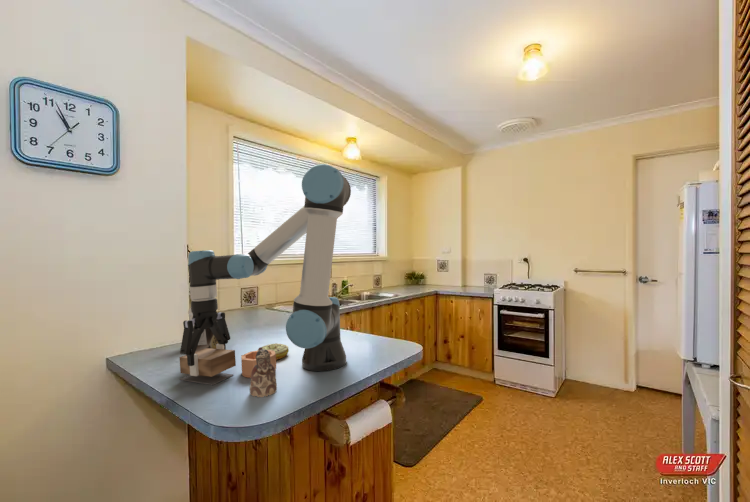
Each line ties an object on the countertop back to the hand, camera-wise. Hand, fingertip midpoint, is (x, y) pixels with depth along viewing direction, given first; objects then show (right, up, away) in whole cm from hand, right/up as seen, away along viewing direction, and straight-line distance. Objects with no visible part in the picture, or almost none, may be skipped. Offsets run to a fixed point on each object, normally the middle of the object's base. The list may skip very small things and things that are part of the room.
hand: (208, 369), depth 105 cm
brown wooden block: (0, 0, 0) cm, 0 cm away
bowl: (+15, -2, +4) cm, 15 cm away
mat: (-1, -3, 0) cm, 3 cm away
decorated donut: (+14, -2, +19) cm, 24 cm away
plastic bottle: (-24, -3, +38) cm, 45 cm away
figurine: (+22, -2, -12) cm, 25 cm away
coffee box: (-7, -3, +16) cm, 18 cm away
